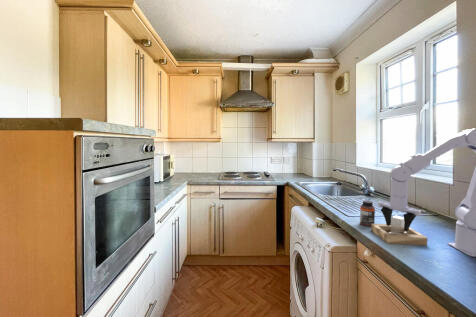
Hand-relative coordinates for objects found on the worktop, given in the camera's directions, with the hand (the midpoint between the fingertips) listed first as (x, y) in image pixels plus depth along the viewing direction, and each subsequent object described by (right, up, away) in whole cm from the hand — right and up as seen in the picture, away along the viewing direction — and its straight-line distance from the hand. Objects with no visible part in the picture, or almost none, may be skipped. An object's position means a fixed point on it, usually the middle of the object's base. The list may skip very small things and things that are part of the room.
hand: (397, 227), depth 89 cm
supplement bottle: (-4, -3, +14) cm, 15 cm away
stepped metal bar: (0, -4, 0) cm, 4 cm away
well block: (0, -4, 0) cm, 4 cm away
